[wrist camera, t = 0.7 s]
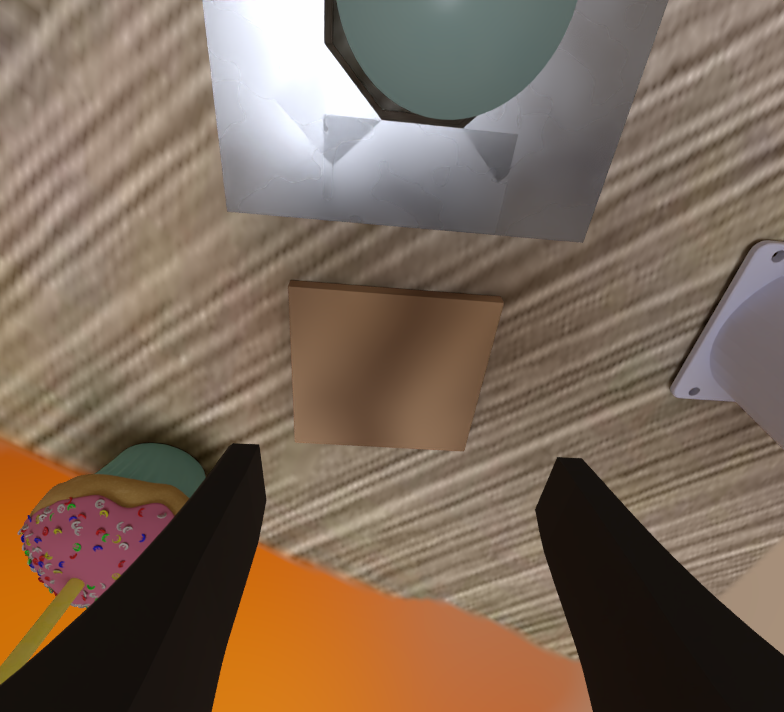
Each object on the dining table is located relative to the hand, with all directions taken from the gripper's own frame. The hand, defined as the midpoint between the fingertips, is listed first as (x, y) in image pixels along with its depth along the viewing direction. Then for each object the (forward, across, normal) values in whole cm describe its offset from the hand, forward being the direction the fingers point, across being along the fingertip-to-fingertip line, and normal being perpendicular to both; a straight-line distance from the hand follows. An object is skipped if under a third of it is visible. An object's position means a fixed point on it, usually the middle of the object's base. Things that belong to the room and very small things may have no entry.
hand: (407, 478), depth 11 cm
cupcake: (+10, +12, +12) cm, 20 cm away
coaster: (+10, 0, +4) cm, 11 cm away
